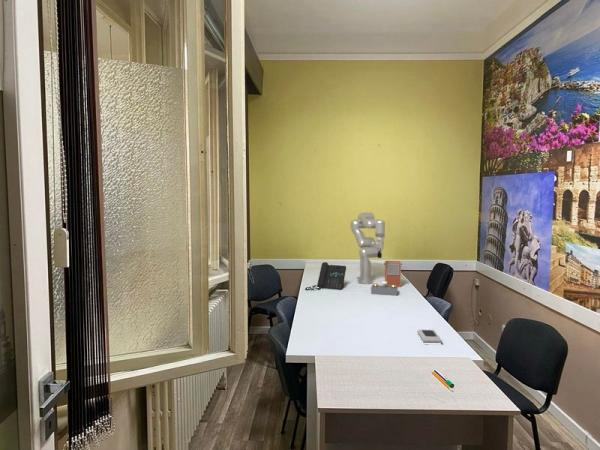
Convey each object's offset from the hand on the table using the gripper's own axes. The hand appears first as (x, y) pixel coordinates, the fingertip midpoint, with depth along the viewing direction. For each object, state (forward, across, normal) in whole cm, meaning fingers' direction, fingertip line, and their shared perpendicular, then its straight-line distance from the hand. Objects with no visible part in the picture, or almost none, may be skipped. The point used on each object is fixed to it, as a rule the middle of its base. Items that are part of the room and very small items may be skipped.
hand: (379, 257), depth 324 cm
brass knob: (+24, -11, -12) cm, 29 cm away
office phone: (+27, -7, +44) cm, 52 cm away
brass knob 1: (+24, -11, +2) cm, 26 cm away
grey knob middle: (+21, -11, -5) cm, 25 cm away
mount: (+26, -11, -5) cm, 29 cm away
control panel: (+27, +14, -10) cm, 32 cm away
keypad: (+25, -104, -37) cm, 113 cm away
